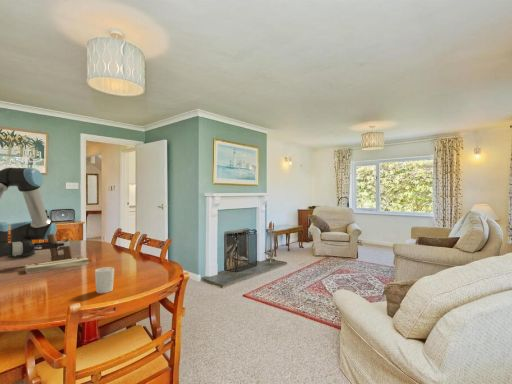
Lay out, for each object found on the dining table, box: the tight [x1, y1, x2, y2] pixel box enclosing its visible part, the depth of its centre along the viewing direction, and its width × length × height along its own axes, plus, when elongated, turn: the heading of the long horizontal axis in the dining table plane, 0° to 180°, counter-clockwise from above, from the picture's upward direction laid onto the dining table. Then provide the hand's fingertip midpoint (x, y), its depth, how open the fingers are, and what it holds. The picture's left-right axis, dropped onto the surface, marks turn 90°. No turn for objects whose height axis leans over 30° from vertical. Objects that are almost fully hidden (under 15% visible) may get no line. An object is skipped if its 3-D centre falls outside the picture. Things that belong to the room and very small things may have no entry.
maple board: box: [24, 256, 90, 275], centre depth 168 cm, size 10×30×3 cm, turn 135°
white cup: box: [94, 266, 115, 294], centre depth 130 cm, size 8×8×10 cm
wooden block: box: [47, 234, 74, 261], centre depth 178 cm, size 4×11×18 cm, turn 114°
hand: (69, 243), depth 180 cm, fingers closed on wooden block, 3 cm apart
